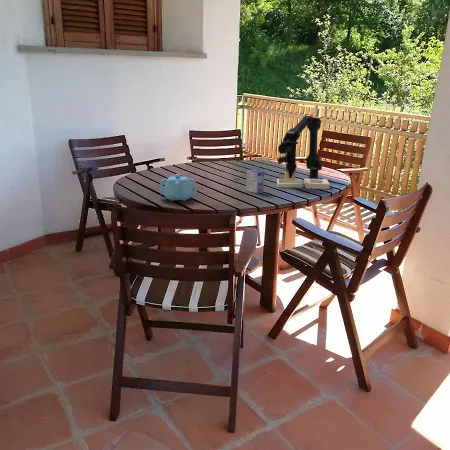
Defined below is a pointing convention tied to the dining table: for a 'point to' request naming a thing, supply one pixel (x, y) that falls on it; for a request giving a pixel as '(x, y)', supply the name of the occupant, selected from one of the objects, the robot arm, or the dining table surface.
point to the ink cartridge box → (255, 181)
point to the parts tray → (289, 183)
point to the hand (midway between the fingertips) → (289, 177)
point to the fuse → (288, 175)
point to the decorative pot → (178, 188)
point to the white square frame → (317, 183)
